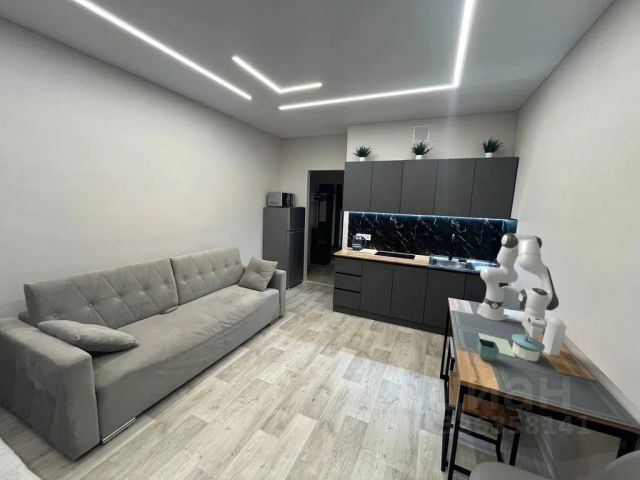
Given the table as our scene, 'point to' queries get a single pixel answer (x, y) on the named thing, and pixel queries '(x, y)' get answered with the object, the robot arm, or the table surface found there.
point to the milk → (554, 336)
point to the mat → (500, 344)
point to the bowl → (525, 353)
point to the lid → (524, 342)
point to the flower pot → (487, 349)
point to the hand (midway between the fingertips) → (528, 339)
